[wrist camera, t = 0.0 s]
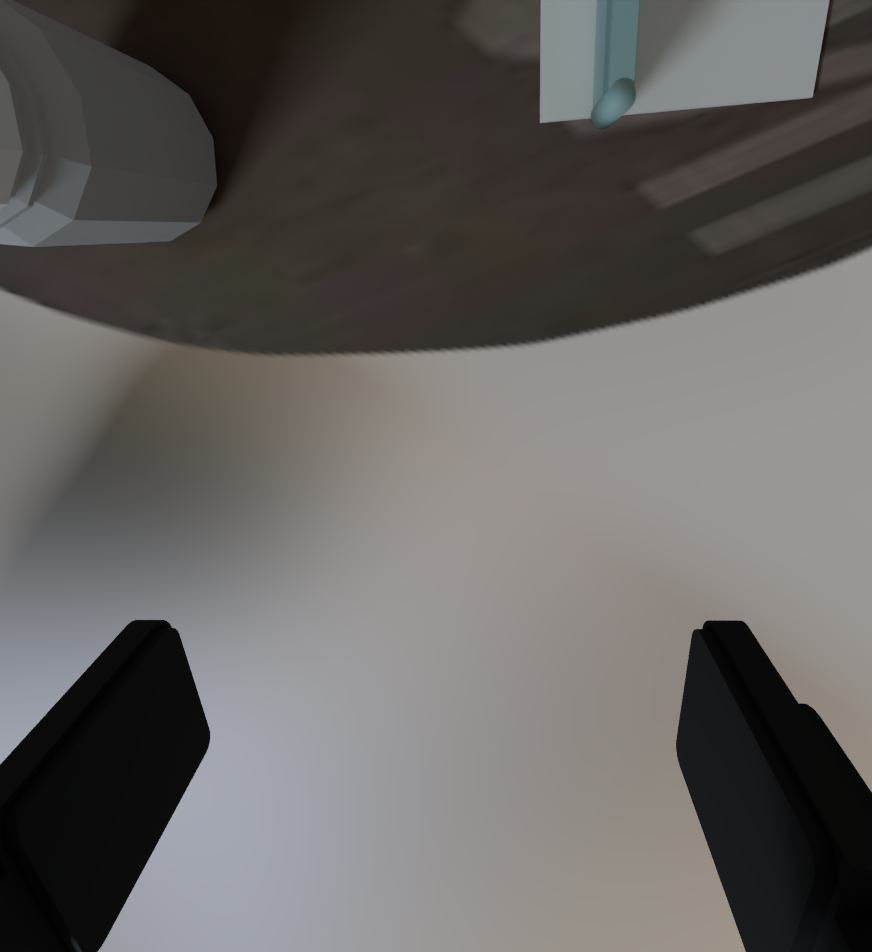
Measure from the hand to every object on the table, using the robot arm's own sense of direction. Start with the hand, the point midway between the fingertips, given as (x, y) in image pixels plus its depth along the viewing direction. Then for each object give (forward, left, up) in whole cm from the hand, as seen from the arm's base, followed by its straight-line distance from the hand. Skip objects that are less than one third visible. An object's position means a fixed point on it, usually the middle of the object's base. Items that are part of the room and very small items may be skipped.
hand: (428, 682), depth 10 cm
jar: (-13, -20, -31) cm, 39 cm away
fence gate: (-17, +8, -30) cm, 36 cm away
